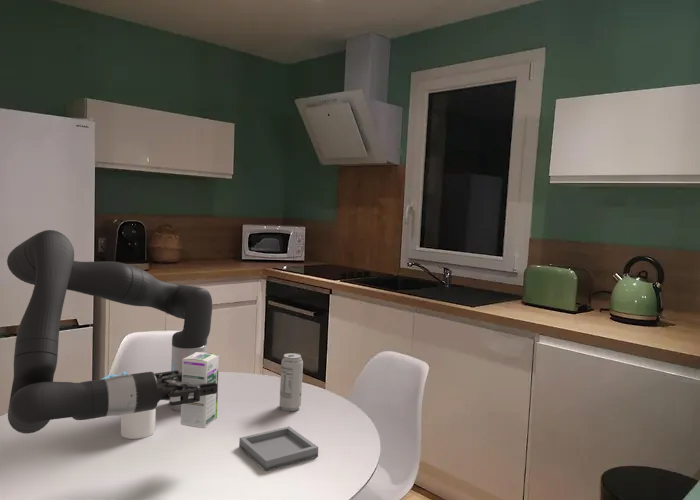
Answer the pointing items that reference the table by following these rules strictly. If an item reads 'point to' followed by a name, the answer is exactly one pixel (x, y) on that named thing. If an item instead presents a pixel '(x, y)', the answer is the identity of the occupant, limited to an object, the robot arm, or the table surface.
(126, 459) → the table surface
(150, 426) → the pill bottle
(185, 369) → the syrup box
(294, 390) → the energy drink can
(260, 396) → the table surface
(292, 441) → the tray
